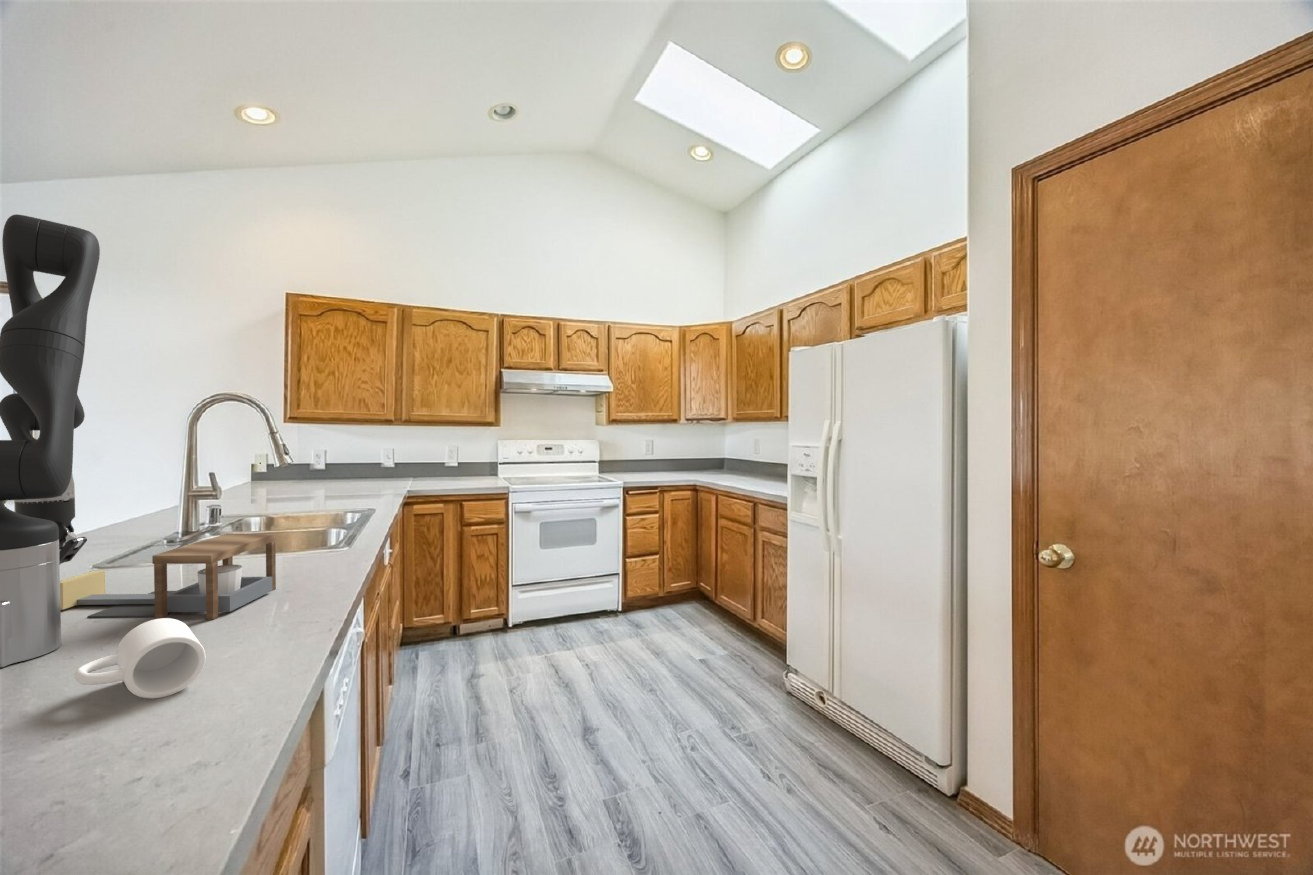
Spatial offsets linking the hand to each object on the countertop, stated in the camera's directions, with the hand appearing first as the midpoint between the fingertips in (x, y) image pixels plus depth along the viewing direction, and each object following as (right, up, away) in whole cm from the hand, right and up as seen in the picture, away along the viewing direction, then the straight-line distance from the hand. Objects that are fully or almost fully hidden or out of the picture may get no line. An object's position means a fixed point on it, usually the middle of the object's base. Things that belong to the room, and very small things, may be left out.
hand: (48, 585), depth 101 cm
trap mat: (+20, -4, +1) cm, 20 cm away
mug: (+48, -6, -30) cm, 57 cm away
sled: (+21, -4, +1) cm, 22 cm away
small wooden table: (+32, -4, +2) cm, 32 cm away
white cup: (+32, -5, +2) cm, 32 cm away
